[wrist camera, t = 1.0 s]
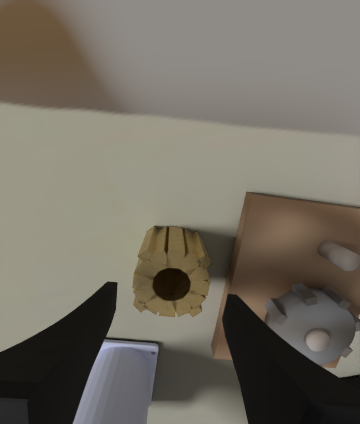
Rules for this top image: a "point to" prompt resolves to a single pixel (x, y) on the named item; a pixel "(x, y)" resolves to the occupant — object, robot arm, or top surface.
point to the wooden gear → (171, 272)
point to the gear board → (297, 274)
